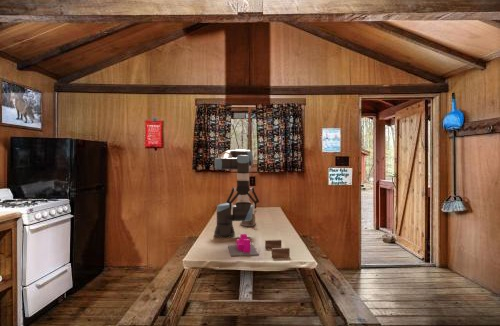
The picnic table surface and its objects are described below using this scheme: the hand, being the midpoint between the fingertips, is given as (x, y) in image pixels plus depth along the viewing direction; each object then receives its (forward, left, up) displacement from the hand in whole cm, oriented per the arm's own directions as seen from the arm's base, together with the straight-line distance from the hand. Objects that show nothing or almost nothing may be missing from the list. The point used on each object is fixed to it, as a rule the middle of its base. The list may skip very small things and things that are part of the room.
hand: (242, 214), depth 203 cm
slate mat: (+3, 0, -22) cm, 22 cm away
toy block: (+3, 0, -21) cm, 22 cm away
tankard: (-72, +16, -22) cm, 76 cm away
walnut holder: (+9, +20, -22) cm, 31 cm away
